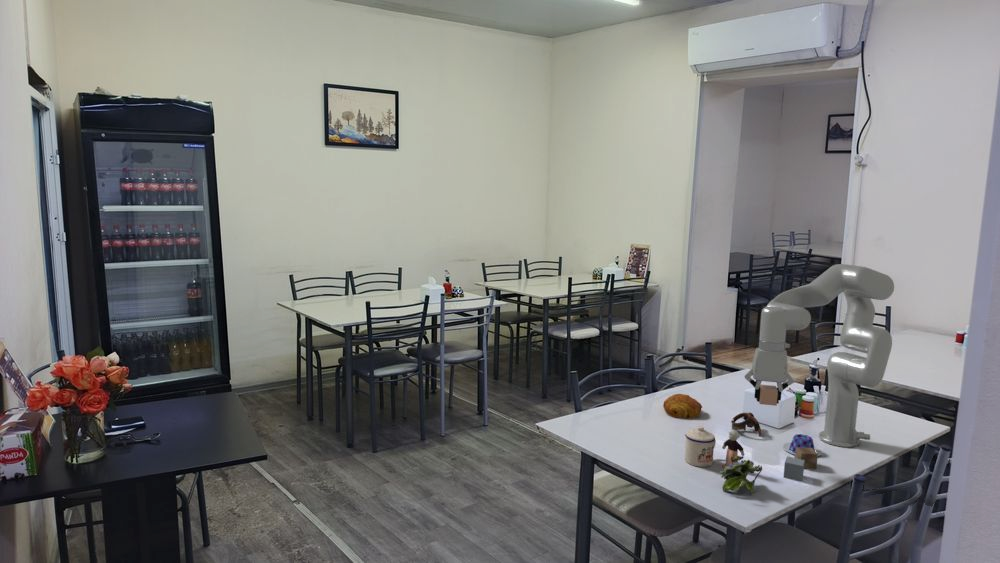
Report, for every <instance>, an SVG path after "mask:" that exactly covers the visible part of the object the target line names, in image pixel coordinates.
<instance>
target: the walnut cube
mask: <svg viewBox="0 0 1000 563" xmlns="http://www.w3.org/2000/svg"><path fill="white" fill-rule="evenodd" d="M794 458H797V459H801V460H805V462H804V469H807V468H808V469H811V470H817V469H818V468H817V466H818V458H819V456H818V454H817V453H816V452H815V451H814V450H813V449H812V448H805V447H796V451H795V454H794Z"/></svg>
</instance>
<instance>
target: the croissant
mask: <svg viewBox="0 0 1000 563" xmlns="http://www.w3.org/2000/svg"><path fill="white" fill-rule="evenodd" d="M662 406H663V409H664V412H665V413H666V414H667V415H668V416H670V417H673V418H682V419H694V418H697V417H699V416H700V415H701V413H702V408H703V405H702V404H701V403H700V402H699V401H697V399H694V398H693V397H692V396H690V395H689V394H685V393H676V394H671V396H669V397H667V398H666V399H665V400H664V401H663V405H662Z"/></svg>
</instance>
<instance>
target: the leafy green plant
mask: <svg viewBox="0 0 1000 563" xmlns="http://www.w3.org/2000/svg"><path fill="white" fill-rule="evenodd" d="M731 461H732V462H735V464H733V463H732V464H730V465H728V464H727V465H728V466H725V467H724V470H723V471H719V473H720V474H721V479H724V480H725V481H724V482H723V484H722V492H727V491H731V492H734V491H737V490H739V489H740V488H742V487H743V486H744V485H745V487H746V488H747V490H749V495H750V496H752V492H753V493H754V492H755V488H754V486H755V482H756V479H758V477H759V475H760V473H761V472H762V471H763V465H760V464H758V465H755V463H754V461H753V460H750V459H747V460H745V459H744V456H742V455H741V456H740V455H738V456H736V457H731ZM736 462H737V463H736ZM755 472H757V474H756V476H755V477H754V479H753V480H751V481H750V480H748V478H747V477H748V475H749V474H754V473H755Z"/></svg>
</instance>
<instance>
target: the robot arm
mask: <svg viewBox="0 0 1000 563" xmlns="http://www.w3.org/2000/svg"><path fill="white" fill-rule="evenodd" d="M894 290H895V283H894V279H892V277H891V276H889V275H887V274H885V273H883V272H880V271H877V270H875V269H872V268H869V267H866V266H862V265H852V264H846V263H845V264H843V263H840V264H839V263H836V264H833V265H832V266H830V267H828V269H827V270H825V271H824V272H822V274H820V275H819V276H817V277H816V278H815V279H813V280H812V281H811V282H810V283H808V284H804V285H801V286H798V287H794V288H791V289H789V290H786V291H782V292H781V293H779V294H778V295H777V296H775V297H774V298H773V299H771V300H770V301H769V302H768V303H767V305H766V306H765V307H763V308H762V309H761V314H760V325H759V326H760V328H759V339H758V340H759V342H758V347H756V348H755V351H754V355H753V360H752V366H751V369H750V370H749V371H748V372H747V373H746V374H745V375H744V379H745V380H746V381H747V382H749V383H750V384H751V385H752V386H753V387H754V399H756V402H758V403H759V401H760V384H761V385H762V382H766V383H767V382H769V383H776V387H777V390H778V396H777V405H778V404H779V402H780V401H781V400H782V392H783V391H785V389H787V388H788V387H789V386H791V385H792V384H793V385H794V383H795V380H794V378H793V377H792V376H791V374H790V373H789V372H788V353H787V352H788V351H787V350H786V349H790V348H791V343H787V342H786V339H787V338H786V336H787V331H788V330H789V331H802V330H804V329H806V328H808V327H809V325H810V323H811V320H812V316H811V313H810V311H809V310H808V309H807V308H815V307H822V306H826V305H828V304H830V303H831V302H832V301H834V300H835V299H836V298H837V297H838V296H840V294H842V293H843V295H844V297H845V300H846V304H847V310H846V313H845V316H844V321H843V324H842V327H841V331H840V335H839V336H840V337H839V343H840V345H841V346H842V347H843V348H846V349H849V350H851V351H856V352H860V353H863V354H866V357H865V356H861V355H857V354H854V353H849V352H844V351H837V352H835V353H832V354H831V355H830V356H829V357H828V359H827V362H826V365H827V376H828V377H827V378H828V387H827V398H826V399H827V400H826V408H825V417H824V419H825V420H824V428H823V431H820V432H819V433H818V438H819V439H820V440H821V441H822V442H824V443H826V444H829V445H833V446H835V447H836V446H837V447H843V448H853V447H854V446H855V447H858V446H859V445H860V440H865V441H870V440H871V434H869V433H865V432H864V431H857V429H856V426H857V425H856V424H857V417H858V416H857V415H858V406H859V395H860V394H859V393H860V392H859V389H858V386H857V385H859V386H862V387H866V388H876V387H878V386H879V385H880V384H881V383H882V382H883V378H884V377H885V372H886V369H887V365H888V362H889V359H890V354H891V351H892V348H893V347H892V346H893V337H892V335H891V333H890V332H889V331H888V330H887V329H885V328H883V327H878V326H874V325H873V324H874V320H875V316H876V315H875V314H876V308H875V305H874V303H873V301H872V300H877V301H885V300H887V299H889V298H890V297H891V296H892V295H893V293H894Z"/></svg>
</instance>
